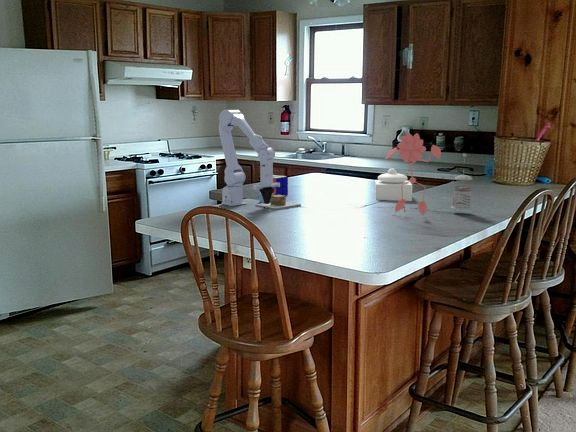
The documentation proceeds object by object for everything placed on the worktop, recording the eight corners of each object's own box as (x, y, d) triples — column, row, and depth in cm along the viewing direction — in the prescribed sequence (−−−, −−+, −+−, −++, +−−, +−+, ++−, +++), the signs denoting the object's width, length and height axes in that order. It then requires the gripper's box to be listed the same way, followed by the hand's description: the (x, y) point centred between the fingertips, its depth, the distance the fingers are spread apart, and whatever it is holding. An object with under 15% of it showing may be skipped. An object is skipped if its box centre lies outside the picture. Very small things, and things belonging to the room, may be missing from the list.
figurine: (388, 209, 263) (390, 131, 257) (443, 215, 249) (447, 133, 242) (372, 214, 251) (374, 133, 245) (429, 221, 236) (433, 134, 230)
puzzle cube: (276, 197, 300) (276, 178, 298) (261, 195, 306) (261, 176, 304) (288, 195, 307) (288, 176, 306) (273, 193, 313) (273, 174, 312)
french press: (473, 210, 262) (477, 154, 257) (447, 209, 264) (450, 154, 259) (471, 206, 271) (474, 153, 267) (446, 205, 274) (448, 152, 269)
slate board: (275, 210, 261) (274, 208, 261) (255, 206, 271) (255, 204, 271) (300, 206, 272) (300, 204, 272) (281, 202, 282) (281, 200, 282)
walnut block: (277, 205, 268) (277, 197, 267) (270, 204, 272) (270, 195, 271) (285, 204, 271) (285, 195, 270) (278, 203, 275) (278, 194, 274)
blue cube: (265, 204, 277) (265, 194, 277) (259, 203, 281) (259, 193, 280) (273, 203, 281) (273, 193, 280) (267, 202, 284) (267, 192, 283)
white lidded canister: (408, 197, 300) (409, 166, 297) (411, 202, 283) (413, 170, 280) (374, 196, 302) (375, 166, 299) (375, 202, 285) (376, 170, 282)
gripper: (259, 176, 256) (260, 206, 259) (284, 173, 266) (284, 203, 268) (249, 175, 262) (250, 204, 264) (274, 172, 271) (274, 201, 274)
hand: (266, 203), depth 267 cm, fingers closed
